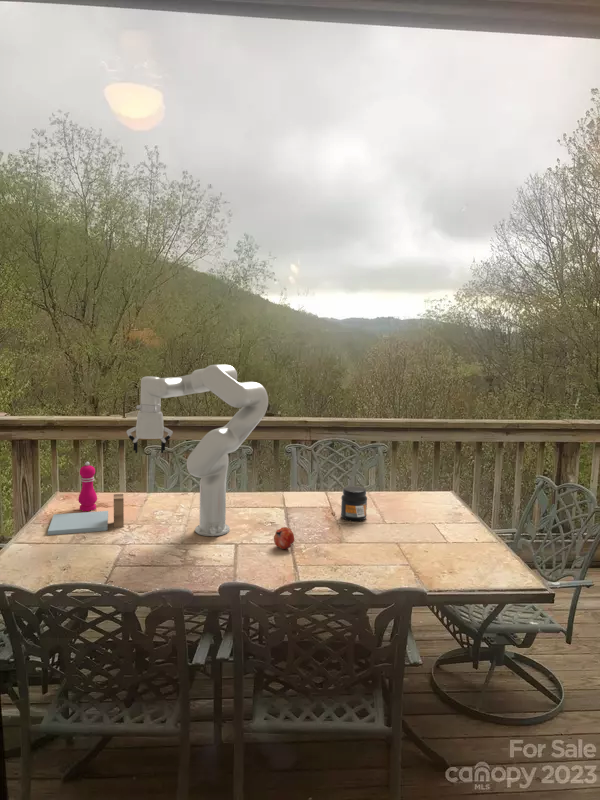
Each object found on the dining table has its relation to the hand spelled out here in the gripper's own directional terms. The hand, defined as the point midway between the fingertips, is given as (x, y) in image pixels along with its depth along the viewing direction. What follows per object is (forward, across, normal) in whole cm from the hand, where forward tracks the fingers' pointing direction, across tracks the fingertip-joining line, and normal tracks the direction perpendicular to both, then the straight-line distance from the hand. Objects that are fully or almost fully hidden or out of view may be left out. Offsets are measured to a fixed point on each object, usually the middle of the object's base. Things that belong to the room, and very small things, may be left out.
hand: (149, 452), depth 213 cm
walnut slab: (+27, -10, -5) cm, 29 cm away
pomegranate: (+25, +45, -41) cm, 66 cm away
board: (+27, -25, -1) cm, 37 cm away
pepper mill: (+28, -24, +18) cm, 41 cm away
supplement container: (+24, +81, -14) cm, 86 cm away
